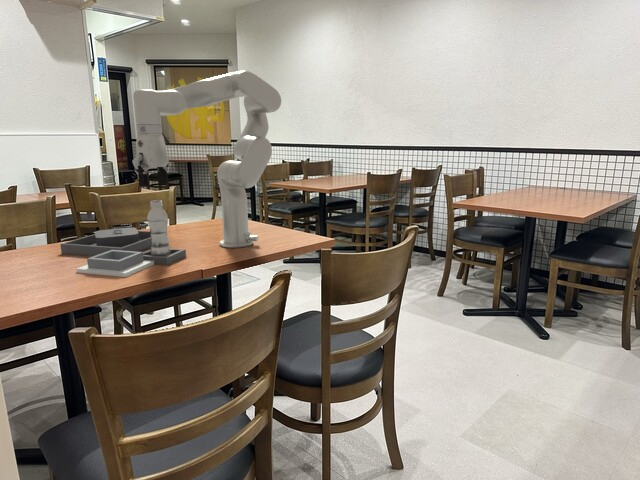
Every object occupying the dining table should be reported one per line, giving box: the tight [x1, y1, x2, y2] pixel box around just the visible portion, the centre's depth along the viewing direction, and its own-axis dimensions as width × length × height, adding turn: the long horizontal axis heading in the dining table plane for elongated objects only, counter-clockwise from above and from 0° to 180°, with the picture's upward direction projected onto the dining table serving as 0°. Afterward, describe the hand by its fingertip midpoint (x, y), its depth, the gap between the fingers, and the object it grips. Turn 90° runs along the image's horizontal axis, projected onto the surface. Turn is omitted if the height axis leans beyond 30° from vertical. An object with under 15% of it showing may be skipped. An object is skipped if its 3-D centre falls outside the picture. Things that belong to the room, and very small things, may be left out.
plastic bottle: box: [146, 199, 172, 257], centre depth 148 cm, size 6×7×20 cm
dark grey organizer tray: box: [59, 230, 152, 257], centre depth 167 cm, size 26×26×4 cm
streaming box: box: [94, 227, 139, 248], centre depth 167 cm, size 14×14×5 cm
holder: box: [142, 248, 187, 266], centre depth 150 cm, size 12×11×2 cm
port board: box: [76, 250, 155, 278], centre depth 141 cm, size 18×14×4 cm
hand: (154, 185), depth 144 cm, fingers open, 9 cm apart
